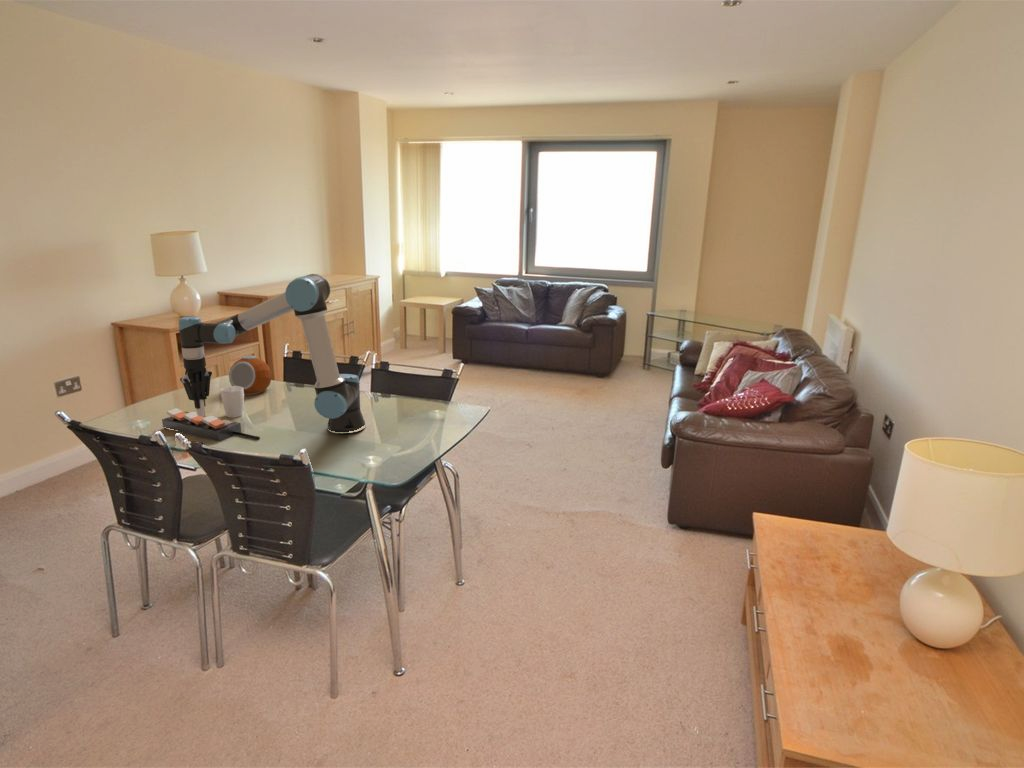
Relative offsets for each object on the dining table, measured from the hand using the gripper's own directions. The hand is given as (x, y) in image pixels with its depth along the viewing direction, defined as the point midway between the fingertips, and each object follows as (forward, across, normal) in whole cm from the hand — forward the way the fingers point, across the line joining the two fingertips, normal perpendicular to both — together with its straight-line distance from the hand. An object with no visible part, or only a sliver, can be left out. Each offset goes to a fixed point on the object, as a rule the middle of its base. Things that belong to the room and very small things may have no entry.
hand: (201, 415), depth 236 cm
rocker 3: (+3, 0, +6) cm, 7 cm away
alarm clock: (+8, -52, -26) cm, 59 cm away
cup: (+8, -22, -6) cm, 24 cm away
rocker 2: (+2, 0, -4) cm, 4 cm away
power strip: (+8, -2, +2) cm, 9 cm away
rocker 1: (+2, 0, -13) cm, 13 cm away
